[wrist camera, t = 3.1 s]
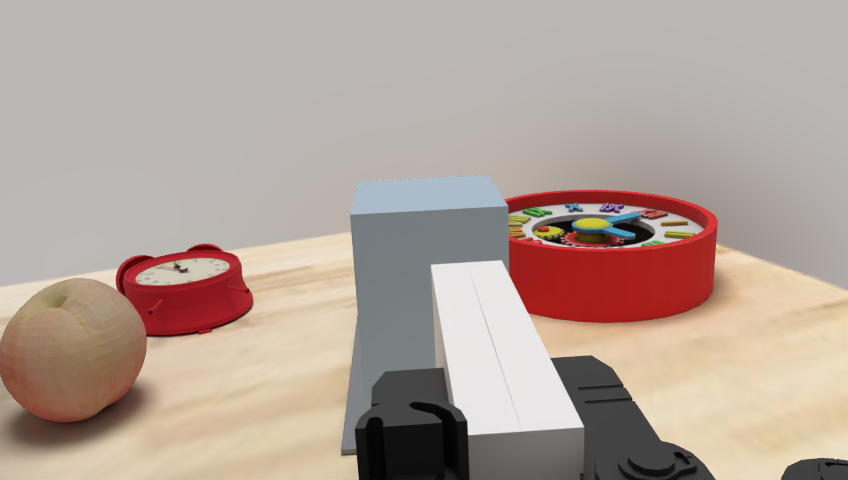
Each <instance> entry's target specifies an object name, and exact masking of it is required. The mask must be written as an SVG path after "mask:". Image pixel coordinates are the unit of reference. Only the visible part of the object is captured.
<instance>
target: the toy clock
mask: <svg viewBox="0 0 848 480" xmlns="http://www.w3.org/2000/svg"><path fill="white" fill-rule="evenodd" d="M505 202H506V203H507V205H508V216H509V276H510V278H511V280H512V282H513V284H514V286H515V288H516V290H517V292H518V294H519V296H520V298H521V300H522V302H523V304H524V306H525V308H526V310H527V312H528V313H531V314H534V315H539V316H544V317H549V318H554V319H562V320H570V321H579V322H599V323H611V322H634V321H644V320H652V319H658V318H663V317H669V316H672V315H676V314H679V313H682V312H686V311H688V310H690V309H692V308H695V307H697V306H699V305H700V304H702V303H703V302H704V301H706V300H707V299H708V298H709V296H710V295H711V293H712V290H713V277H714V263H715V250H716V236H717V223H718V220H717V219H716V217H715V215H714V214H712V213H711V212H710V211H708V210H707V209H704V208H702V207H700V206H698V205H696V204H692V203H689V202H686V201H683V200H679V199H675V198H671V197H665V196H660V195H654V194H645V193H638V192H627V191H611V190H569V191H554V192H544V193H534V194H528V195H523V196H517V197H513V198H509V199H505Z"/></svg>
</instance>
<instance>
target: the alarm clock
mask: <svg viewBox="0 0 848 480" xmlns="http://www.w3.org/2000/svg"><path fill="white" fill-rule="evenodd" d="M116 286H117V289H118V291H119V292H120V293H121V294H122V295H124V296H125V297H126V298H127V299H128V300H129V301H130V302H131V304H132V305H133V306H134V308H135V309H136V311H137V312H138V314H139V315H140V317H141V319H142V321H143V323H144V327H145V330H146V334H148V335H173V334H182V333H191V332H196V331H198V332H199V335H200V334H204V333H209V332H212V330H211V329H210V328H212V327H215V326H219V325H221V324H224V323H227V322H229V321H231V320H233V319H235V318H237V317H239V316H241V315H242V314H244V313H245V312H247V311H248V310H249V309H250V307H251V306H252V304H253V297H252V293H251V292H250V290H249V289H248V288H247V286H246V285H245V283H244V281H243V277H242V266H241V262H240V261H239V259H238V257H237V256H236V255H234V254H231V253H228V252H223V251H222V249H220V248H219V247H217V246H215V245H212V244H199V245H196V246H193V247H191V248H190V249H188V250H187V251H186V252H180V253H175V254H169V255H165V256H160V257H156V258H154V257H151V256H146V255H140V256H134V257H131V258H129V259H127V260H126V261H125V262H123V263H122V265H121V266H120V267H119V269H118V271H117V275H116Z"/></svg>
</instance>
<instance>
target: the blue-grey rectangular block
mask: <svg viewBox="0 0 848 480" xmlns="http://www.w3.org/2000/svg"><path fill="white" fill-rule="evenodd" d="M350 218H351V232H352V245H353V257H354V270H355V283H356V296H357V309H358V321H359V334H360V347H361V360H362V372H363V385H364V398H365V411H366V412H367V411H368V410H369V409H371V397H372V386H373V385H374V384H375V383H376V382H377V380H378V379H379V378H380V377H381V376H382V375H383V373H384V372H385V371H399V370H414V369H429V368H436V356H435V337H434V318H433V298H432V279H431V265H434V264H450V263H466V262H482V261H498V260H502V262H503V264H504V266H505V268H506V270H507V272H508V274H509V216H508V205H507V203H506V202H505V200H504V199H503V197H502V196H501V194H500V193H499V191H498V190H497V188H496V187H495V185H494V184H493V182H492V181H491V179H490V178H489V176H488V175H475V176H458V177H457V176H456V177H438V178H419V179H401V180H382V181H364V182H358V183H357V187H356V191H355V196H354V200H353V204H352V209H351V213H350Z"/></svg>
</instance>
